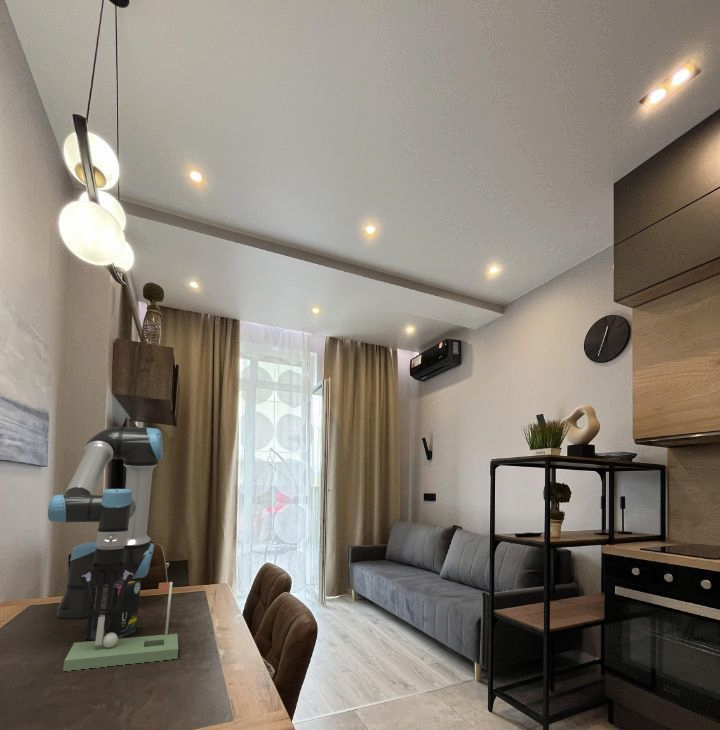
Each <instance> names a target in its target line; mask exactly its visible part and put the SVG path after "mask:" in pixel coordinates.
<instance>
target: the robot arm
mask: <svg viewBox="0 0 720 730" xmlns="http://www.w3.org/2000/svg"><path fill="white" fill-rule="evenodd" d="M163 443H164V442H163V433H162V431H161V430H160V429H159V428H153V427H137V426H136V427H133V426H132V427H130V426H112V427H110V428H109V427H108V428H106V429H103V430H102V431H100V432H98V433H97V434H95V435H93V437H91V438H90V439H89V440H88V441H87V443H86V444H85V445H84V448H83V449H82V456H83V457H82V459H81V460H80V463H79V465H78V467H77V468H76V470H75V472H74V474H73V476H72V478H71V480H70V482H69V484H68V486H67V489H66V490H65V492H64V494H63V493H62V494H57V495H56V494H55V495H53V496H52V497H51V499H50V500H49V503H48V508H47V519H48V520H49V522H52V523H63V524H65V523H98V529H97V534H96V535H97V536H96V541H91V542H86V543H85V542H84V543H81V544H77V545H76V546H74V547H73V549H72V552H71V555H70V559H69V566H68V574H67V575H68V576H67V582H66V588H65V592H64V594H63V596H62V599H61V600H60V603H59V605H58V606H57V612H56V617H58V618H61V619H82V618H83V619H84V618H88V617H89V615H92V616H93V617H94V620H93V630H97V633H96V641H95V645H101V644H102V642H103V636H104V629H108V627H109V624H110V616H111V615H112V614H114V613H117V612H118V610H119V607H120V604H121V601H122V599H123V596H124V593H125V590H126V587H127V585H128V583H129V581H132V580H134V579H141V578H142V579H144V578H145V577H147V575H148V573H149V570H150V567H151V561H152V559H153V558H152V557H153V553H154V549H155V548H154V547H155V544H154V543H152V542H151V537H150V536H149V535H148V534H147V532H148V523H149V522H148V521H149V514H150V513H149V512H150V502H151V500H150V499H151V491H152V490H151V489H152V482H153V471H154V469H155V468H156V467H158V464H159V461H161V460H163V455H164V451H163V450H164V447H163V446H164V445H163ZM112 460H123V466H124V467H125V468H126V479H125V488H106V489H105V490H104V491H103V493H102V494H95V492H96V489H97V488H98V485H99V482H100V480H101V479H102V475H103V473H104V472H105V468H106V466H107V464H108V463H110V461H112ZM117 580H123V581H124V582H123V584H122V587H121V590H120V593H119V596H118V598H117V601H116V604H115V607H114V608H112V601H113V593H114V585H115V583H116V582H117ZM104 584H109V585H108V595H107V603H106V611H105V615H100V611H101V604H102V596H103V588H104ZM95 585H98V587H97V596H96V604H95V609H93V604H92V596H91V594H92V587H93V586H95Z"/></svg>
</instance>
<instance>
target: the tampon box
mask: <svg viewBox="0 0 720 730" xmlns="http://www.w3.org/2000/svg"><path fill="white" fill-rule="evenodd" d="M123 582H124V580H123V579H118V580H117V582H116V583H115V585H114V593H113V601H112V608H114V607H115V604H116V601H117V598H118V596H119V593H120V590H121V587H122V584H123ZM108 585H109V584H104V588H103V596H102V604H101V611H100V615H105V611H106V603H107V595H108ZM97 587H98V585H95V586H93V587H92V594H91V596H92V604H93V609H95V604H96V596H97ZM141 588H142V581H138V580H137V581H135V580H130V581H129V583H128V585H127V587H126V590H125V593H124V596H123V599H122V601H121V604H120V607H119V610H118V612H117V613H114V614H112V615H111V616H110V624H109V627H108V629H104V636H103V638H104V637H105V635H106V634H108V633H115V634H116V635H117V638H118V639H122V638H126V637H127V635H128V636H130V635H132V634H135V633H136V629H137V628H136V627H137V620H138V613H139V612H138V611H139V602H140V594H141ZM87 618H88V619H87V624H86V625H87V627H86V634H85V640H86V641H96V633H97V630H93V620H94V617H93V616H92V615H89V617H87ZM134 632H135V633H134Z"/></svg>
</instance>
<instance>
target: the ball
mask: <svg viewBox="0 0 720 730" xmlns="http://www.w3.org/2000/svg"><path fill="white" fill-rule="evenodd" d="M117 639H118V638H117V635H116V634H115V633H108V634H106V635H105V637H104V638H103V645H104V646H105V647H106V648H111V647H113V646H114V645H115V644H116V643H117Z"/></svg>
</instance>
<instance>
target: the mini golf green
mask: <svg viewBox="0 0 720 730" xmlns="http://www.w3.org/2000/svg"><path fill="white" fill-rule="evenodd" d="M173 584H174V583H173V581H170V582H159V583H158V590H157V592H168V598H167V599H168V600H167V608H166V609H167V610H166V617H165V618H166V621H165V631H164V634H157V635H155V634H154V635H145V636H136V637H123V638H121V639H117V643H116V644H115V645H114V646H113V647H111V648H106V647H105V646H104V645H103V642H102V644H101V645H95V641H93V640H88V641H82V642H81V641H79V642H74V643H73V644H72V646H71V648H70V650H69V651H68V653H67V656H66V657H65V659H64V660H63V668H62V669H63V670H62V672H63V671H68V672H72V671H71V670H77V671H82V670H81V669H86V670H90V669H89V668H96V669H101V668H100V667H105V668H108V667H107V666H114V667H116V666H115V665H123V666H126V665H125V664H132V665H136V664H135V663H142V664H145V663H144V662H151V663H155V662H154V661H160V662H164V661H163V660H169V661H172V660H171V659H177V660H178V659H179V658H178V657H179V642H178V641H179V639H178V633H169V634H168V632H169V631H168V630H169V622H170V612H171V611H170V610H171V602H172V594H173V593H172V591H173Z"/></svg>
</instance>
